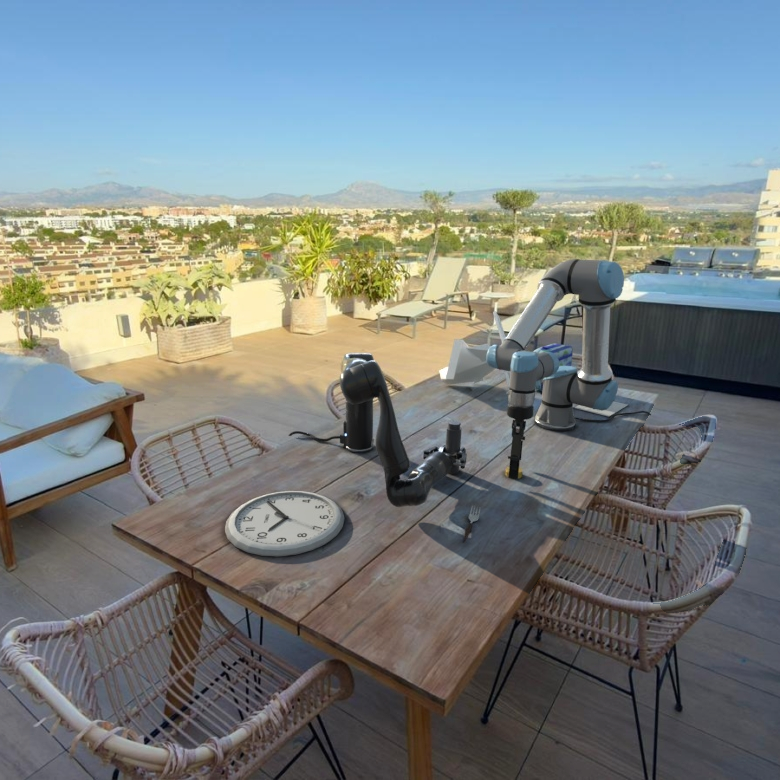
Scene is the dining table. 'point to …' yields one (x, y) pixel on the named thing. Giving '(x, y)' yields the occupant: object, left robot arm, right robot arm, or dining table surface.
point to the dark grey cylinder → (453, 441)
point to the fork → (472, 519)
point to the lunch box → (562, 354)
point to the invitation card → (608, 412)
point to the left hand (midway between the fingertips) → (455, 448)
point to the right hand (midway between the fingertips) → (515, 468)
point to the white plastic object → (470, 361)
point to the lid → (518, 472)
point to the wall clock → (284, 523)
